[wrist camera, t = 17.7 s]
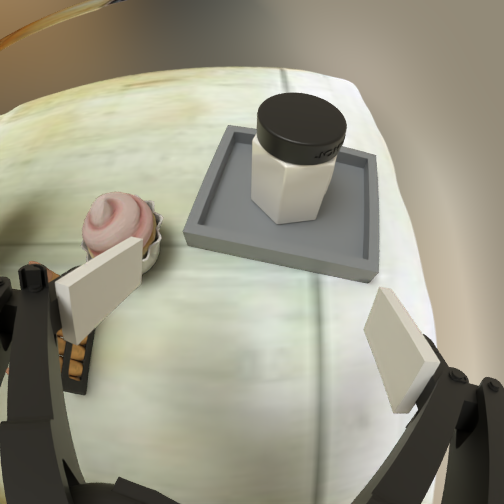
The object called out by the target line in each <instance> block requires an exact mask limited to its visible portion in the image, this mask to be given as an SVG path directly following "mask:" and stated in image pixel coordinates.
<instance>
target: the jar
mask: <svg viewBox="0 0 504 504" xmlns="http://www.w3.org/2000/svg"><path fill="white" fill-rule="evenodd" d="M346 129H347V124H346V120H345V118H344V116H343V114H342V113H341V112H340V111H339V110H338V109H337V108H336V107H335V106H334V105H332V104H331V103H329V102H327V101H326V100H324V99H321V98H319V97H316V96H313V95H309V94H304V93H283V94H278V95H275V96H272V97H270V98H268V99H266V100H265V101H264V102H263V103H262V104H261V105H260V107H259V109H258V113H257V133H256V135H255V137H254V138H253V140H252V174H251V199H252V201H253V202H255V203H256V204H257V205H258V206H259V207H260V208H261V209H262V210H263V211H264V212H265V213H266V214H267V215H268V216H269V217H270V218H271V219H272V220H273V221H274V222H275V223H276V224H285V223H293V222H301V221H310V220H315V219H316V217H317V214H318V212H319V209H320V206H321V203H322V200H323V197H324V195H325V194H326V191H327V189H328V186H329V184H330V181H331V178H332V174H333V171H334V167H335V162H336V158H337V154H338V153H339V151H340V148H341V146H342V145H343V142H344V139H345V133H346Z"/></svg>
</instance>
